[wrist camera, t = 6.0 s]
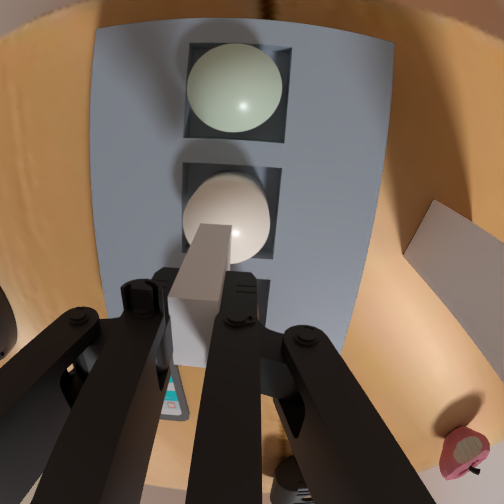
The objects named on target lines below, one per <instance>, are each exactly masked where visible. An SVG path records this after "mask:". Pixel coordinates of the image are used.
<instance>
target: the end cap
mask: <svg viewBox="0 0 504 504" xmlns="http://www.w3.org/2000/svg"><path fill="white" fill-rule="evenodd" d="M309 495H311V494H310V492H309V490H308V487H307V485H306V482H305V480H304V478H303V475H302V473H301V470H300V468H299V465H298V463H297V460H296V458H295V455H294V456H290V457H289V458H287V459H286V460H284V461H282V462H281V463H280V464H279V465H278V466H277V468H276V470H275V474H274V479H273V484H272V488H271V493H270V501H271V503H272V504H314V502H313V499H312V498H303V497H305V496H309Z"/></svg>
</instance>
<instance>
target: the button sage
mask: <svg viewBox="0 0 504 504" xmlns="http://www.w3.org/2000/svg"><path fill="white" fill-rule="evenodd" d="M281 94H282V80H281V76H280V72H279V70H278V68H277V66H276V65H275V63H274V62H273V60H272V59H271V58H270V57H269V56H268V55H267V54H266V53H264V52H263V51H261V50H259V49H257V48H255V47H253V46H250V45H246V44H239V43H232V44H225V45H221V46H218V47H216V48H213V49H211V50H210V51H208V52H207V53H205V54H204V55H203V56H202V57H201V58H200V59H199V60H198V61H197V62H196V63H195V65H194V66H193V68H192V70H191V72H190V74H189V78H188V83H187V95H188V100H189V103H190V105H191V108H192V109H193V111H194V113H195V114H196V115H197V116H198V118H199V119H201V120H202V121H203V122H204V123H205V124H207V125H208V126H210V127H212V128H215V129H217V130H220V131H225V132H243V131H247V130H250V129H253V128H255V127H257V126H259V125H261V124H262V123H264V122H265V121H266V120H267V119H268V118H269V117H270V116H271V115H272V114H273V113H274V111H275V110H276V108H277V106H278V104H279V102H280V98H281Z"/></svg>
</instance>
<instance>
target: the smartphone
mask: <svg viewBox="0 0 504 504" xmlns="http://www.w3.org/2000/svg"><path fill="white" fill-rule="evenodd" d="M170 368H171V377H170V380H169V384H168V388H167V392H166V395H165V399H164V403H163V407H162V411H161V415H160V419H163V420H174V421H186V420H188V419H189V414H190V413H189V408H188V405H187V401H186V397H185V393H184V389H183V386H182V382H181V378H180V373H179V369H178V365H175V364H174V362H173V355H172V358H171V361H170Z"/></svg>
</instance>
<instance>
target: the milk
mask: <svg viewBox="0 0 504 504" xmlns="http://www.w3.org/2000/svg"><path fill="white" fill-rule="evenodd" d="M403 257H404V258H405V259H406V260H407V261H408V263H409V264H410V265H411V266H412V267H413V268H414V269H415V270H416V272H417V273H418V274H419V275H420V276H421V277H422V278H423V280H424V281H425V282H426V283H427V284H428V285H429V287H430V288H431V289H432V290H433V291H434V292H435V294H436V295H437V296H438V297H439V298H440V300H441V301H442V302H443V303H444V304H445V306H446V307H447V308H448V309H449V311H450V312H451V313H452V314H453V316H454V317H455V318H456V319H457V321H458V322H459V323H460V324H461V326H462V327H463V328H464V330H465V331H466V332H467V333H468V335H469V336H470V337H471V339H472V340H473V341H474V343H475V344H476V345H477V347H478V348H479V349H480V351H481V352H482V354H483V355H484V356H485V358H486V359H487V361H488V362H489V363H490V365H491V366H492V368H493V369H494V370H495V372H496V373H497V375H498V376H499V378H500V379H501V381H502V382H503V384H504V243H503V242H502V241H500V240H499V239H497V238H496V237H494V236H493V235H491V234H490V233H488V232H487V231H485V230H484V229H482V228H481V227H479V226H478V225H476V224H474V223H473V222H471V221H470V220H468V219H467V218H465V217H463V216H462V215H460V214H458V213H457V212H455V211H453V210H452V209H450V208H448V207H447V206H445V205H443V204H442V203H440V202H438V201H437V200H433V201H432V203H431V205H430V207H429V209H428V211H427V213H426V215H425V217H424V218H423V220H422V222H421V224H420V226H419V228H418V230H417V231H416V233H415V235H414V237H413V239H412V241H411V242H410V244H409V246H408V248H407V249H406V251H405V253H404V255H403Z"/></svg>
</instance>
